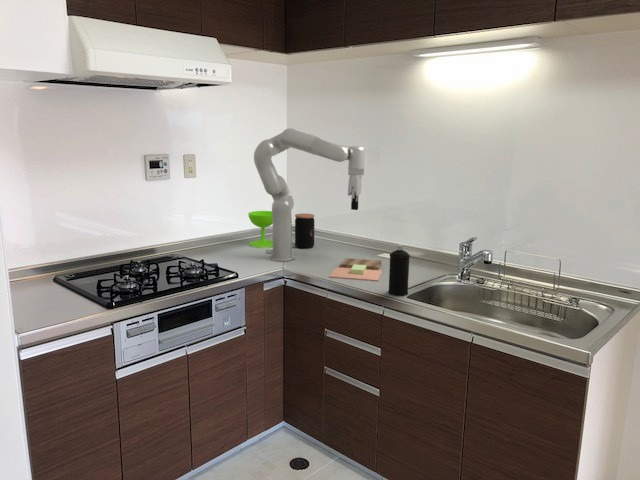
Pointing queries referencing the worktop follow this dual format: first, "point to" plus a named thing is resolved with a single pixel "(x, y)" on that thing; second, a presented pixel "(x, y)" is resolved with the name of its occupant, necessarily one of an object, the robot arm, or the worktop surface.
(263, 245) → the wineglass
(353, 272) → the sponge
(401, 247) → the aerosol can
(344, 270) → the mat
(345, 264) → the plate
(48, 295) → the worktop surface
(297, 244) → the coffee jar
